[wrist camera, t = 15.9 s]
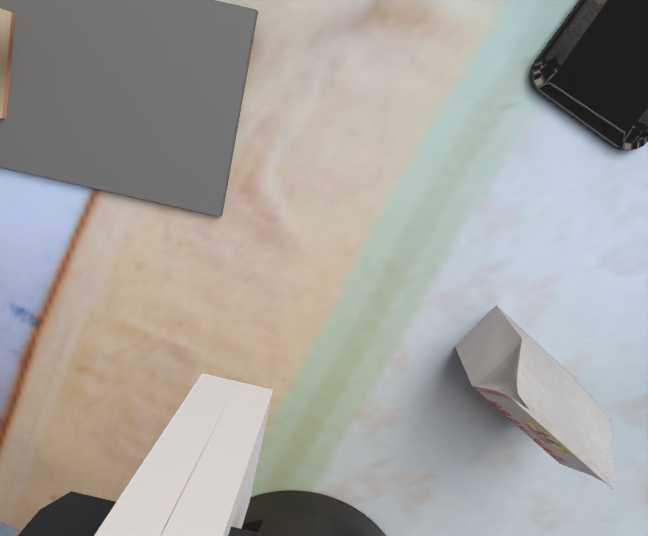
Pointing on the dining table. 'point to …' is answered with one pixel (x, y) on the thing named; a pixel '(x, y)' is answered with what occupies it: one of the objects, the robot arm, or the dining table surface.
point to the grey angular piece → (538, 395)
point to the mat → (128, 95)
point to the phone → (600, 69)
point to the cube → (5, 56)
